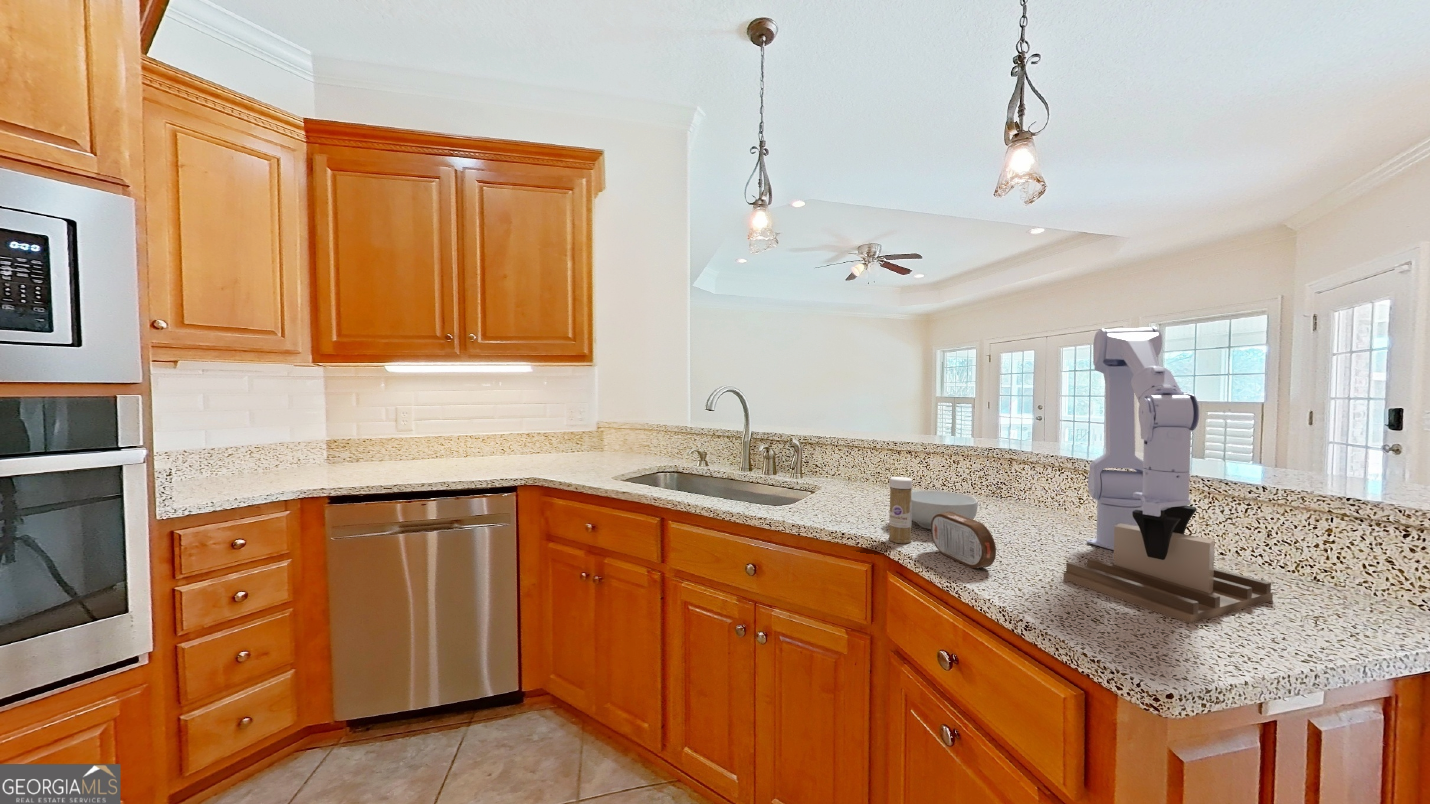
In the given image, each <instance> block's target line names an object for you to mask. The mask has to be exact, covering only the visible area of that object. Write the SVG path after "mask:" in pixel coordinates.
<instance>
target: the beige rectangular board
mask: <svg viewBox="0 0 1430 804" xmlns="http://www.w3.org/2000/svg"><path fill="white" fill-rule="evenodd" d="M1215 541H1216V540H1215V539H1213V538H1209V537H1208V538H1207V537H1200V536H1197V535H1190V534H1185V533H1184V534H1179V533H1172V536H1171V539H1170V543H1169V548H1168V553H1167V556H1166V558H1165V559H1164V560H1161V559H1156V558H1151V557H1148V556H1147V553H1146V549H1145V545H1144V541H1143V537H1142V534H1141V531H1140V529H1139V526H1133V525H1128V524H1122V523H1120V524H1118V525H1116V526H1114V550H1113V562H1114V565H1117V566H1120V567H1124V568H1127V569H1130V570H1134V571H1137V572H1141V573H1144V574H1147V575H1151V576H1154V577H1157V578H1161V579H1164V580H1167V581H1171V582H1174V583H1177V584H1181V585H1184V586H1187V587H1191V588H1194V589H1197V590H1201V591H1204V592H1208V593H1211V592H1212V591H1213V579H1214V568H1215V543H1216V542H1215Z"/></svg>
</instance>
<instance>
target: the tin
mask: <svg viewBox="0 0 1430 804" xmlns="http://www.w3.org/2000/svg"><path fill="white" fill-rule="evenodd" d="M930 532H931V539H932V542H933V544H934V546H935V548H936V549H937V550H938V552H940V553H941V554H942V555H943V556H945V557H948V558H950V559H952V560H954V561H956V562H958V563H960V564H962V565H964V566H965V567H968V568H971V569H980V568H981V569H982V568H988V567H990V566H992V565H993V564H994V563H995V561H996V557H997V547H996V542H995V540H994V537H993V535H992V533H991V531H990V530H989V529H988V528H987V526H986V525H985V524H983V523H982V522H980V521H977V520H975V519H970V518H967V517H964V516H962V515H959V514H957V513H954V512H950V511H949V512H945V513H940V514H937V515H935V516H934V517H933V519H932V521H931V529H930Z"/></svg>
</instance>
